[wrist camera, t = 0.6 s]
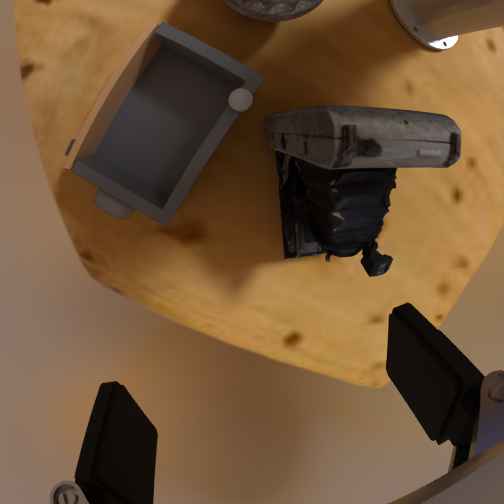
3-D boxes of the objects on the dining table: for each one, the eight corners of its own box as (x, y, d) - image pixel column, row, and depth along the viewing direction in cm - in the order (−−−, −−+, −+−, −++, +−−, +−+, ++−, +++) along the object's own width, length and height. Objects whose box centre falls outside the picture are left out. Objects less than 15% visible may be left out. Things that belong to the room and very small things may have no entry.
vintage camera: (270, 246, 36) (332, 362, 18) (259, 115, 30) (335, 100, 12) (344, 235, 37) (442, 326, 19) (341, 112, 31) (471, 115, 13)
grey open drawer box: (163, 38, 25) (151, 14, 19) (257, 91, 29) (270, 78, 22) (81, 175, 30) (52, 186, 23) (170, 227, 33) (160, 250, 27)
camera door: (152, 33, 24) (142, 16, 19) (165, 40, 24) (158, 23, 20) (77, 157, 28) (56, 162, 23) (89, 164, 28) (69, 170, 23)
